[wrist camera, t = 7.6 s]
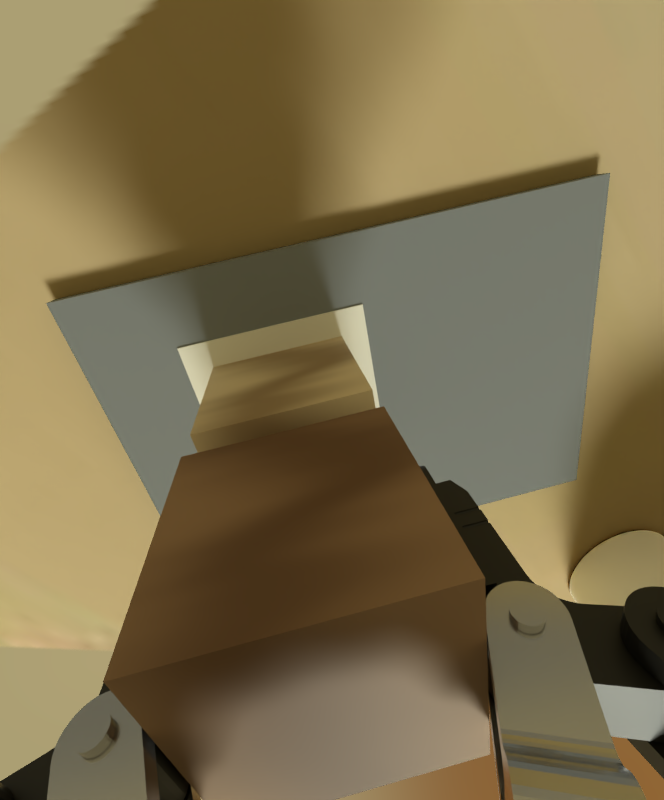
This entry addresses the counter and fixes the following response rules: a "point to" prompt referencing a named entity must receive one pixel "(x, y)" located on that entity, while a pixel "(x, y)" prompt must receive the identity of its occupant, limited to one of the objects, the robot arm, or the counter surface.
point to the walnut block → (306, 620)
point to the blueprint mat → (378, 335)
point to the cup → (619, 568)
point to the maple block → (280, 393)
